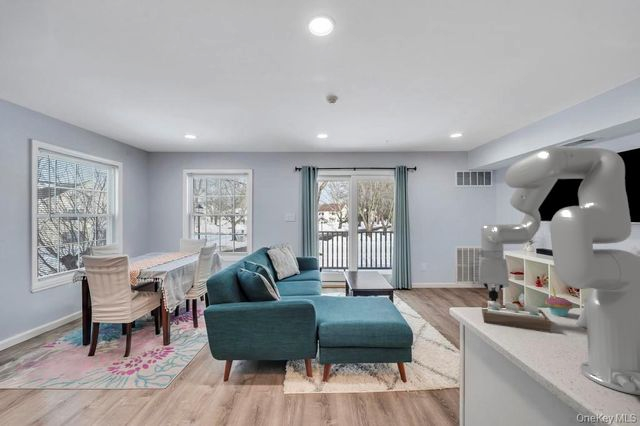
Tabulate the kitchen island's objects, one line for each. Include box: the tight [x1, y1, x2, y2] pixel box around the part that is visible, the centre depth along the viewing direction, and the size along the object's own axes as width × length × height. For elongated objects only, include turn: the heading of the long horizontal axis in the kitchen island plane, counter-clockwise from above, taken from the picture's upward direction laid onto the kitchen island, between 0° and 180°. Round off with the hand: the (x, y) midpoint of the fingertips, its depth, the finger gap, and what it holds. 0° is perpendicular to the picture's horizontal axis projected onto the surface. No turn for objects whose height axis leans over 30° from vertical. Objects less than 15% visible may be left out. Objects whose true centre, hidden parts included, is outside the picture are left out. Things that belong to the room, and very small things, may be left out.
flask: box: [576, 298, 587, 329], centre depth 99 cm, size 7×7×10 cm
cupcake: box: [545, 285, 574, 317], centre depth 112 cm, size 9×8×12 cm
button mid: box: [504, 302, 520, 311], centre depth 106 cm, size 4×4×3 cm
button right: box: [523, 304, 539, 313], centre depth 103 cm, size 4×4×3 cm
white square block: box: [487, 300, 501, 308], centre depth 109 cm, size 4×4×3 cm
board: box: [481, 302, 552, 333], centre depth 105 cm, size 14×20×5 cm
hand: (493, 300), depth 109 cm, fingers closed
